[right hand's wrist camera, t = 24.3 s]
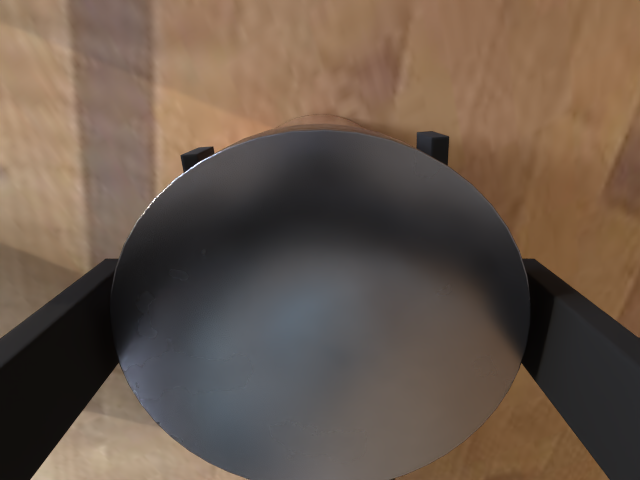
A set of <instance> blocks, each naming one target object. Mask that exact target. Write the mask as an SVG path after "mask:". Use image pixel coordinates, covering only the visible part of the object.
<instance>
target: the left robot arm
mask: <svg viewBox="0 0 640 480" xmlns="http://www.w3.org/2000/svg"><path fill="white" fill-rule="evenodd" d="M448 148H449V136H446V135H442V134H439V133H436V132H433V131H429V132H417V149H418V150H420V151H422V152H424V153H426V154H427V155H429V156H431V157H433V158H435V159H437V160H438V161H440V162H442V163H444V164H446V165H447V166H448ZM213 154H214V148H213V147H200V148H197V149H194V150H192V151H189V152H187V153H185V154H182V155H181V160H182V166H183V171H184V172H186V171H187V170H188V169H190V168H191V167H193V166H194V165H196V164H197V163H198V162H200V161H202V160H203V159H205V158H207V157H209V156H211V155H213ZM390 480H395V478H393V479H390Z"/></svg>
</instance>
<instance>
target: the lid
mask: <svg viewBox="0 0 640 480" xmlns="http://www.w3.org/2000/svg"><path fill="white" fill-rule="evenodd" d="M530 305H531V300H530V293H529V286H528V279H527V274H526V270H525V267H524V264H523V261H522V257H521V254H520V251H519V249H518V247H517V245H516V243H515V241H514V239H513V237H512V235H511V233H510V231H509V229H508V227H507V225H506V224H505V223H504V221H503V220H502V218H501V217H500V215H499V214H498V213H497V211H496V210H495V208H494V207H493V206H492V204H491V203H490V202H489V201H488V200H487V199H486V198H485V197H484V196H483V195H482V194H481V193H480V192H479V191H478V190H477V189H476V188H475V187H474V186H473V185H472V184H471V183H470V182H469V181H467V180H466V179H465V178H463V177H462V176H461V175H459V174H458V173H457V172H455V171H454V170H453V169H451V168H450V167H449V166H447V165H446V164H444V163H442V162H440V161H438V160H437V159H435V158H433V157H431V156H429V155H427V154H426V153H424V152H422V151H420V150H418V149H417V148H415V147H413V146H411V145H409V144H407V143H405V142H403V141H401V140H398V139H396V138H393V137H390V136H388V135H385V134H382V133H380V132H376V131H372V130H367V129H363V128H359V127H354V126H347V125H336V124H304V125H293V126H288V127H283V128H277V129H272V130H268V131H265V132H262V133H259V134H256V135H253V136H250V137H247V138H244V139H242V140H240V141H238V142H236V143H234V144H232V145H230V146H228V147H226V148H224V149H222V150H220V151H218V152H216V153H214V154H213V155H211V156H209V157H207V158H205V159H203V160H202V161H200V162H198V163H197V164H196V165H194V166H193V167H191V168H190V169H188V170H187V171H186V172H184V173H183V174H181V175H180V176H178V177H177V178H176V179H174V180H173V181H172V182H171V183H170V184H169V185H168V186H167V187H166V188H165V189H164V190H163V191H162V192H161V193H160V194H159V195H158V196H156V197H155V198H154V200H153V201H152V202H151V203H150V205H149V206H148V207H147V209H146V210H145V211H144V212H143V214H142V215H141V216H140V218H139V219H138V220H137V222H136V224H135V225H134V227H133V229H132V231H131V233H130V234H129V236H128V238H127V240H126V242H125V243H124V246H123V249H122V251H121V254H120V257H119V260H118V263H117V265H116V268H115V273H114V278H113V284H112V289H111V300H110V322H111V329H112V337H113V343H114V346H115V350H116V354H117V357H118V361H119V364H120V366H121V368H122V371H123V373H124V375H125V377H126V380H127V382H128V384H129V386H130V387H131V389H132V391H133V392H134V394H135V395H136V397H137V399H138V400H139V402H140V404H141V405H142V406H143V407H144V409H145V410H146V411H147V412H148V413H149V415H150V416H151V417H152V418H153V420H154V421H155V422H156V423H157V424H158V425H159V426H160V427H161V428H162V429H163V430H164V431H165V432H166V433H167V434H169V435H170V436H171V437H172V438H173V439H174V440H176V441H177V442H178V443H180V444H181V445H182V446H183V447H185V448H186V449H187V450H189V451H190V452H192V453H194V454H195V455H197V456H199V457H200V458H202V459H203V460H205V461H207V462H208V463H211V464H213V465H215V466H217V467H219V468H221V469H223V470H225V471H227V472H230V473H233V474H235V475H238V476H241V477H244V478H247V479H249V480H390V479H393V478H396V477H400V476H403V475H406V474H408V473H410V472H413V471H415V470H417V469H419V468H422V467H424V466H426V465H428V464H430V463H432V462H433V461H435V460H437V459H439V458H440V457H442V456H444V455H446V454H447V453H449V452H450V451H451V450H453V449H454V448H456V447H457V446H458V445H460V444H461V443H462V442H464V441H465V440H466V439H467V438H468V437H470V436H471V435H472V434H473V433H474V432H475V431H476V430H477V429H478V428H480V427H481V426H482V425H483V423H484V422H485V421H486V420H487V419H488V418H489V416H490V415H491V414H492V413H493V412H494V411H495V410H496V408H497V407H498V405H499V404H500V402H501V401H502V399H503V398H504V396H505V395H506V393H507V392H508V390H509V389H510V387H511V385H512V383H513V381H514V379H515V376H516V374H517V372H518V370H519V368H520V365H521V362H522V359H523V356H524V353H525V350H526V346H527V340H528V334H529V328H530Z"/></svg>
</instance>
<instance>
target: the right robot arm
mask: <svg viewBox="0 0 640 480" xmlns="http://www.w3.org/2000/svg"><path fill="white" fill-rule="evenodd" d="M118 260H119V259H105V260H104V261H102V262H101V263H100V264H98V265H97V266H96V267H94V268H93V269H92V270H90V271H89V272H88V273H86V274H85V275H84V276H82V277H81V278H80V279H78V280H77V281H76V282H75V283H73V284H72V285H71V286H69V287H68V288H67V289H65V290H64V291H63V292H61V293H60V294H59V295H57V296H56V297H55V298H53V299H52V300H51V301H49V302H48V303H47V304H45V305H44V306H43V307H42V308H40V309H39V310H38V311H36V312H35V313H34V314H32V315H31V316H30V317H28V318H27V319H26V320H24V321H23V322H22V323H20V324H19V325H18V326H16V327H15V328H14V329H12V330H11V331H10V332H9V333H7V334H6V335H5V336H3V337H2V338H1V339H0V480H30V479H31V478H32V477H33V475H34V474H35V473H36V471H37V470H38V469H39V467H40V466H41V465H42V463H43V462H44V461H45V459H46V458H47V457H48V455H49V454H50V453H51V451H52V450H53V449H54V448H55V446H56V445H57V444H58V442H59V441H60V440H61V438H62V437H63V436H64V434H65V433H66V432H67V430H68V429H69V428H70V426H71V425H72V424H73V422H74V421H75V420H76V418H77V417H78V416H79V414H80V413H81V412H82V411H83V409H84V408H85V407H86V405H87V404H88V403H89V401H90V400H91V399H92V397H93V396H94V395H95V393H96V392H97V391H98V389H99V388H100V387H101V385H102V384H103V383H104V381H105V380H106V379H107V377H108V376H109V375H110V373H111V372H112V371H113V370H114V368H115V367H116V366H117V364H118V363H119V361H118V357H117V354H116V350H115V346H114V343H113V337H112V329H111V322H110V300H111V289H112V284H113V278H114V273H115V268H116V265H117V263H118ZM522 261H523V264H524V267H525V270H526V274H527V279H528V286H529V293H530V300H531V305H530V328H529V334H528V340H527V346H526V350H525V353H524V356H523V359H522V362H521V363H522V364H523V366H524V367H525V368H526V370H527V371H528V372H529V373H530V375H531V376H532V377H533V379H534V380H535V381H536V383H537V384H538V385H539V387H540V388H541V389H542V391H543V392H544V393H545V395H546V396H547V397H548V399H549V400H550V401H551V403H552V404H553V405H554V407H555V408H556V409H557V411H558V412H559V413H560V414H561V416H562V417H563V418H564V420H565V421H566V422H567V424H568V425H569V426H570V428H571V429H572V430H573V432H574V433H575V434H576V436H577V437H578V438H579V440H580V441H581V442H582V444H583V445H584V446H585V448H586V449H587V450H588V451H589V453H590V454H591V455H592V457H593V458H594V459H595V461H596V462H597V463H598V465H599V466H600V467H601V469H602V470H603V471H604V473H605V474H606V475H607V477H608V478H609V479H610V480H640V338H638V337H637V336H635V335H634V334H633V333H631V332H630V331H629V330H628V329H626V328H625V327H624V326H622V325H621V324H620V323H618V322H617V321H616V320H614V319H613V318H612V317H610V316H609V315H608V314H606V313H605V312H604V311H602V310H601V309H600V308H598V307H597V306H596V305H595V304H593V303H592V302H591V301H589V300H588V299H587V298H585V297H584V296H583V295H581V294H580V293H579V292H577V291H576V290H575V289H573V288H572V287H571V286H569V285H568V284H567V283H565V282H564V281H563V280H562V279H560V278H559V277H558V276H556V275H555V274H554V273H552V272H551V271H550V270H548V269H547V268H546V267H544V266H543V265H542V264H540V263H539V262H538V261H536V260H535V259H522Z"/></svg>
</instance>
